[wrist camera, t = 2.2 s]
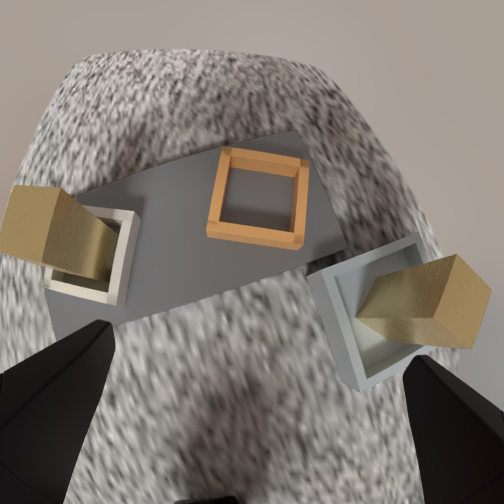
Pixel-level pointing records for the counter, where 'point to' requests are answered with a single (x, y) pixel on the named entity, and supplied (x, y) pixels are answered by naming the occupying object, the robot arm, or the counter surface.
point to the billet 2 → (428, 304)
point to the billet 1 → (57, 233)
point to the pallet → (200, 231)
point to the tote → (349, 303)
